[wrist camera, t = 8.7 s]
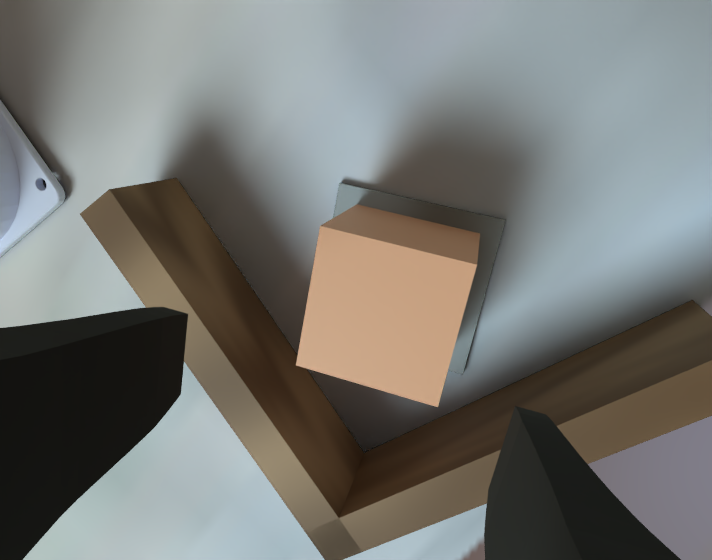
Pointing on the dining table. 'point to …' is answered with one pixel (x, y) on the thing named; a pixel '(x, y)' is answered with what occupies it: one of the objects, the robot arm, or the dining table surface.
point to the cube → (387, 301)
